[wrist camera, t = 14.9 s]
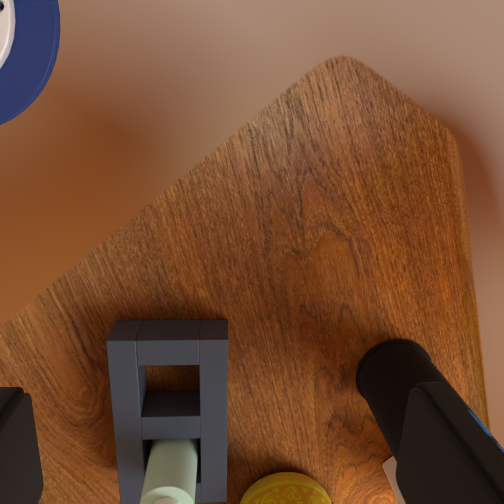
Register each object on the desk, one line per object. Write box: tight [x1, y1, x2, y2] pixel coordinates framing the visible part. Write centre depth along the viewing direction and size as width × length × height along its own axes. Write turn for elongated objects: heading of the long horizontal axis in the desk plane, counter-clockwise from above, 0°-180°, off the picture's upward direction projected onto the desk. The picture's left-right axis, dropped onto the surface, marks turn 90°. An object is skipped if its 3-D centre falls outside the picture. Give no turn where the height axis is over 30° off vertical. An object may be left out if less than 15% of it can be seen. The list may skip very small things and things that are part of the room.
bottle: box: [140, 438, 199, 504], centre depth 42 cm, size 5×5×11 cm
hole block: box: [106, 319, 228, 504], centre depth 44 cm, size 11×19×4 cm, turn 179°
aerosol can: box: [356, 340, 504, 462], centre depth 37 cm, size 8×8×20 cm
